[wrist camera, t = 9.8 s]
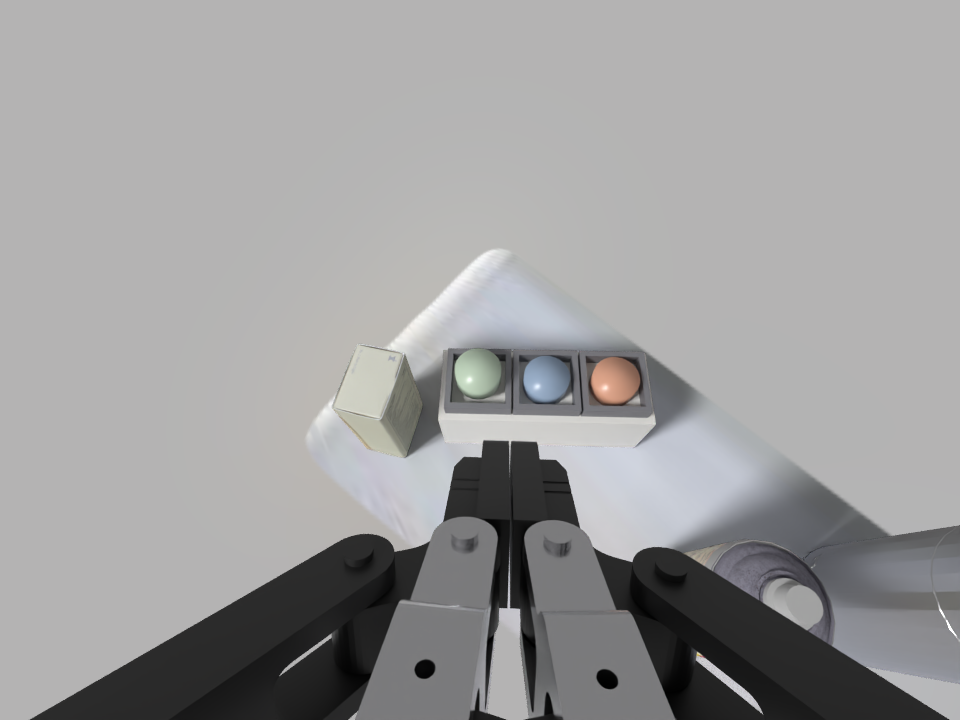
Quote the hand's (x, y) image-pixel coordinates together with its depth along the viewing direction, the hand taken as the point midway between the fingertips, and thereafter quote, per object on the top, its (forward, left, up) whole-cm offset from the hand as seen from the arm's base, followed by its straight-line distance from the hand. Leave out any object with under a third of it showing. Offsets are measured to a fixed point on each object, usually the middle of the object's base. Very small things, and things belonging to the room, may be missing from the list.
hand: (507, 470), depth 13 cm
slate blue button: (+2, -15, -26) cm, 30 cm away
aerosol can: (-15, -4, -33) cm, 36 cm away
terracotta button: (-3, -17, -26) cm, 31 cm away
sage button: (+8, -12, -25) cm, 29 cm away
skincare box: (+15, -7, -33) cm, 37 cm away
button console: (+2, -15, -33) cm, 36 cm away
